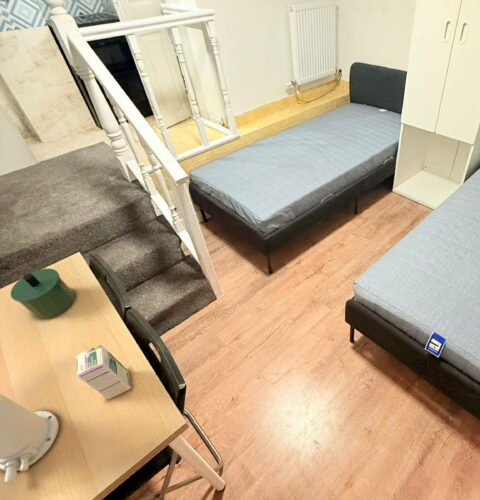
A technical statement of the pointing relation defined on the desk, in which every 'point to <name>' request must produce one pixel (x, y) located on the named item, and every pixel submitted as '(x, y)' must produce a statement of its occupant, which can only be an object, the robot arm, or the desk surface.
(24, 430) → the robot arm
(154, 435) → the desk surface
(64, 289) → the tin
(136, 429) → the desk surface
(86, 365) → the syrup box
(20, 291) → the tin lid
